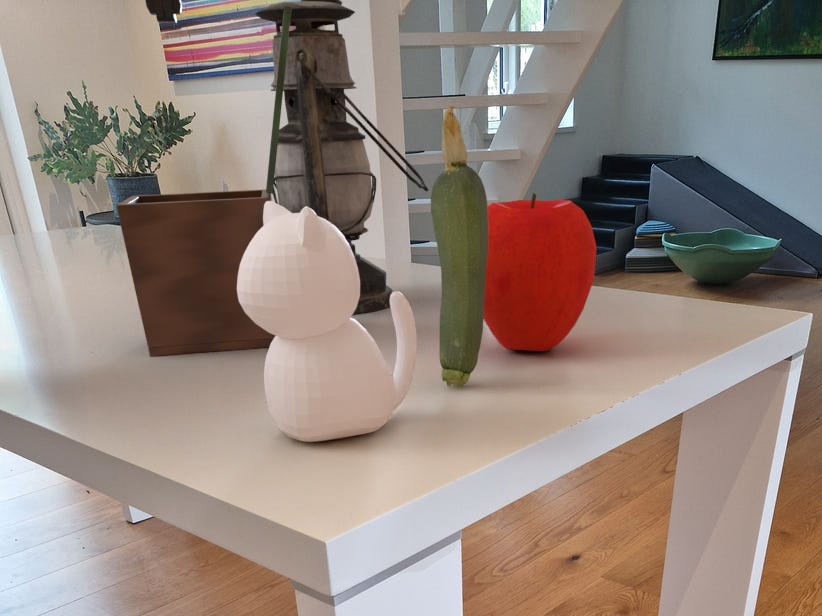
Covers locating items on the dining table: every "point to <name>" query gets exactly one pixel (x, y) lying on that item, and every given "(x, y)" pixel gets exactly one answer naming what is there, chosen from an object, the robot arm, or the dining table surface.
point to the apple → (537, 271)
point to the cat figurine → (319, 330)
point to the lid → (278, 98)
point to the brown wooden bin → (192, 268)
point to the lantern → (326, 135)
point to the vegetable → (460, 255)
